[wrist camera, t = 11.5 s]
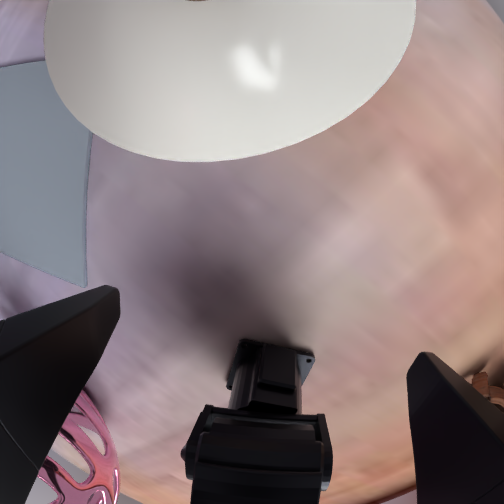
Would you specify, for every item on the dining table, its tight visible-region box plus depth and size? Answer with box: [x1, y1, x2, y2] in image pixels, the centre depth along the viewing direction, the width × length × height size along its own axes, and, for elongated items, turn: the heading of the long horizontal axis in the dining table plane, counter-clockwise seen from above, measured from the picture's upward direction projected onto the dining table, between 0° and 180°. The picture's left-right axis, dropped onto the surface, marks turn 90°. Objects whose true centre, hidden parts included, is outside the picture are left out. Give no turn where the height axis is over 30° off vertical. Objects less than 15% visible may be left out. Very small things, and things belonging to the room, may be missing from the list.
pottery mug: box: [470, 372, 504, 413], centre depth 23 cm, size 12×10×8 cm
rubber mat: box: [0, 60, 93, 288], centre depth 20 cm, size 19×19×1 cm
